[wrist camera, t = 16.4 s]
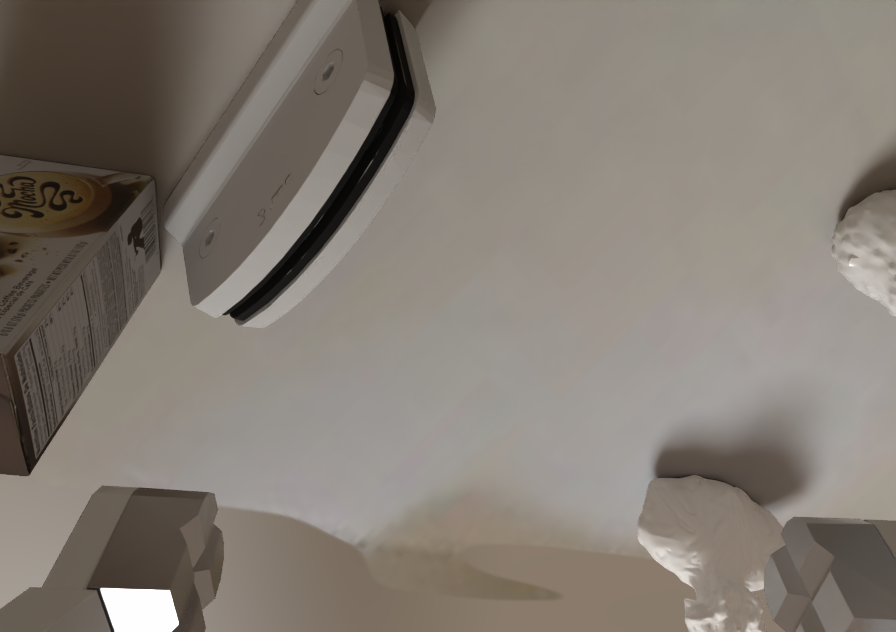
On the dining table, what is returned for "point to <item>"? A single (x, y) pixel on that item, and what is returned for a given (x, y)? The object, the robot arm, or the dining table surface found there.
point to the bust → (711, 548)
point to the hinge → (301, 159)
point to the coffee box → (64, 289)
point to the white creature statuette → (869, 247)
